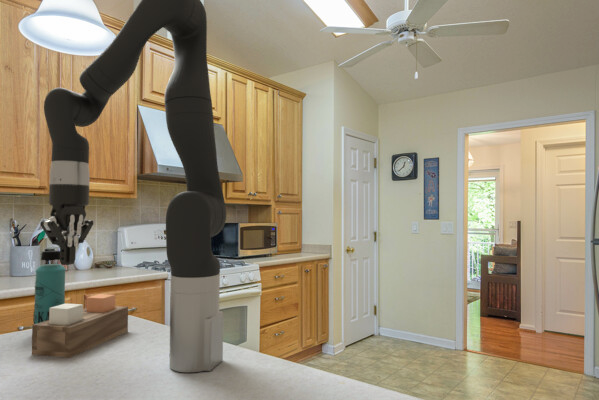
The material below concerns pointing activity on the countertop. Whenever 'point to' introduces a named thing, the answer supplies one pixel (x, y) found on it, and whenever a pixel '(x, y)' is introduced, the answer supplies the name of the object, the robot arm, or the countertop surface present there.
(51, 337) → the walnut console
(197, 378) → the countertop surface
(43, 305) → the beverage bottle
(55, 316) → the white plug
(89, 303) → the terracotta plug
